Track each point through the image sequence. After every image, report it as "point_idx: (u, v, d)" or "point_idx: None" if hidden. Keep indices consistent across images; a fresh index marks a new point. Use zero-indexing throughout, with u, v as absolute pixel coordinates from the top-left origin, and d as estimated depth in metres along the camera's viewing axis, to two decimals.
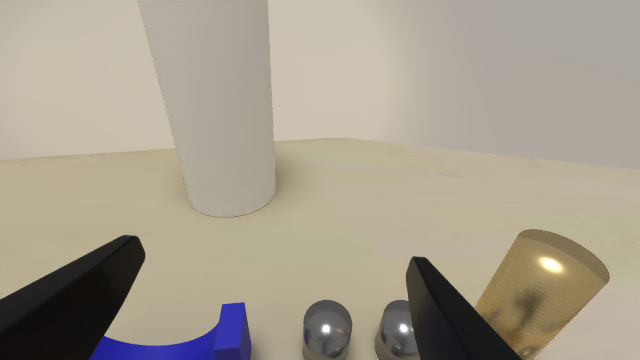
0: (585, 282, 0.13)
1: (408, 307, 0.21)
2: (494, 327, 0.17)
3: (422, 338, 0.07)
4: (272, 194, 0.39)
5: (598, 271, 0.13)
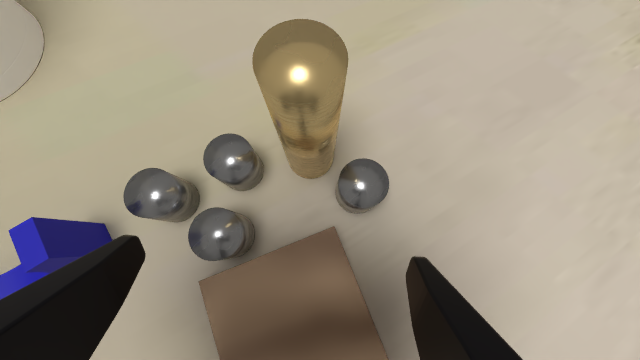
0: (315, 93, 0.11)
1: (228, 140, 0.20)
2: (285, 142, 0.16)
3: (422, 338, 0.07)
4: (37, 39, 0.26)
5: (336, 68, 0.11)
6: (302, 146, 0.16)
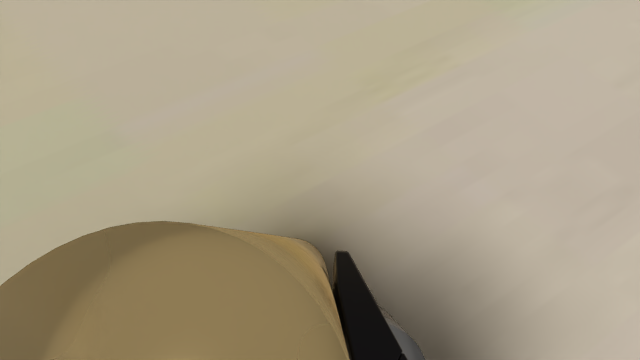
0: None
1: None
2: None
3: None
4: None
5: None
6: None
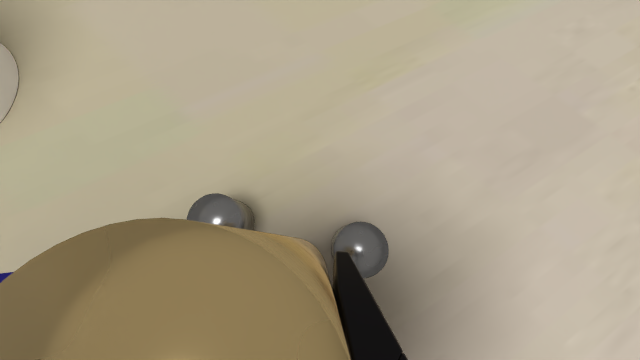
0: None
1: (213, 201, 0.18)
2: None
3: None
4: (10, 76, 0.24)
5: None
6: None
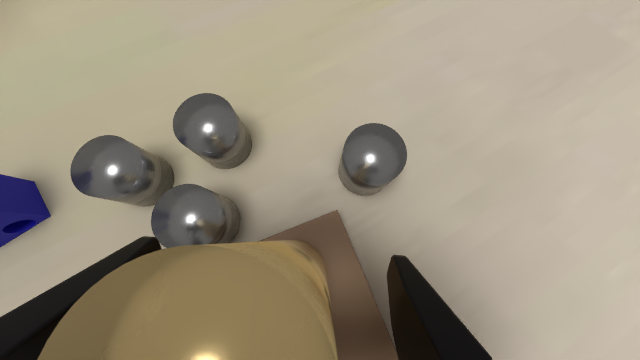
0: None
1: (204, 101, 0.16)
2: None
3: (399, 336, 0.07)
4: None
5: None
6: None
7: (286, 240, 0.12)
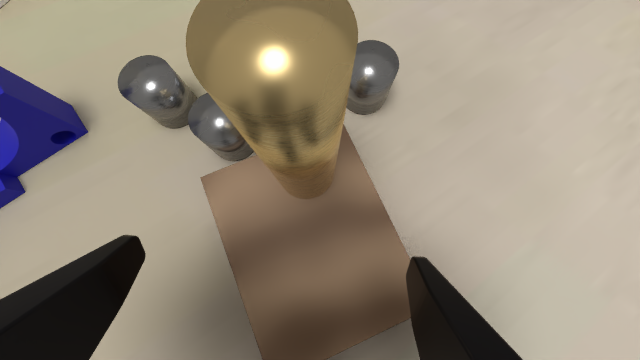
0: (301, 96, 0.06)
1: None
2: (266, 164, 0.11)
3: (422, 338, 0.07)
4: None
5: (337, 48, 0.06)
6: (290, 170, 0.11)
7: None
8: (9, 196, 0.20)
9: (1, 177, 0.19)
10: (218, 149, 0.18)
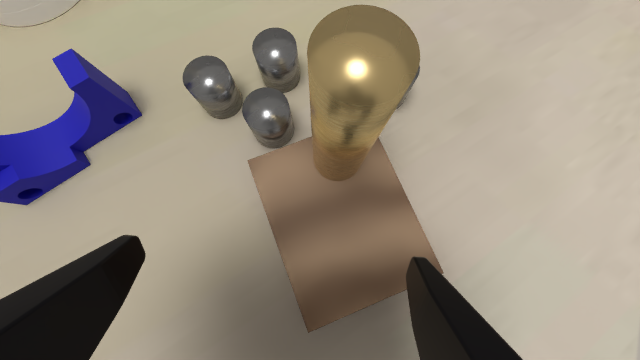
0: (384, 93, 0.09)
1: (273, 33, 0.22)
2: (324, 146, 0.15)
3: (422, 338, 0.07)
4: None
5: (407, 63, 0.09)
6: (345, 150, 0.14)
7: None
8: (78, 167, 0.23)
9: (72, 150, 0.23)
10: (264, 136, 0.21)
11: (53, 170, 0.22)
